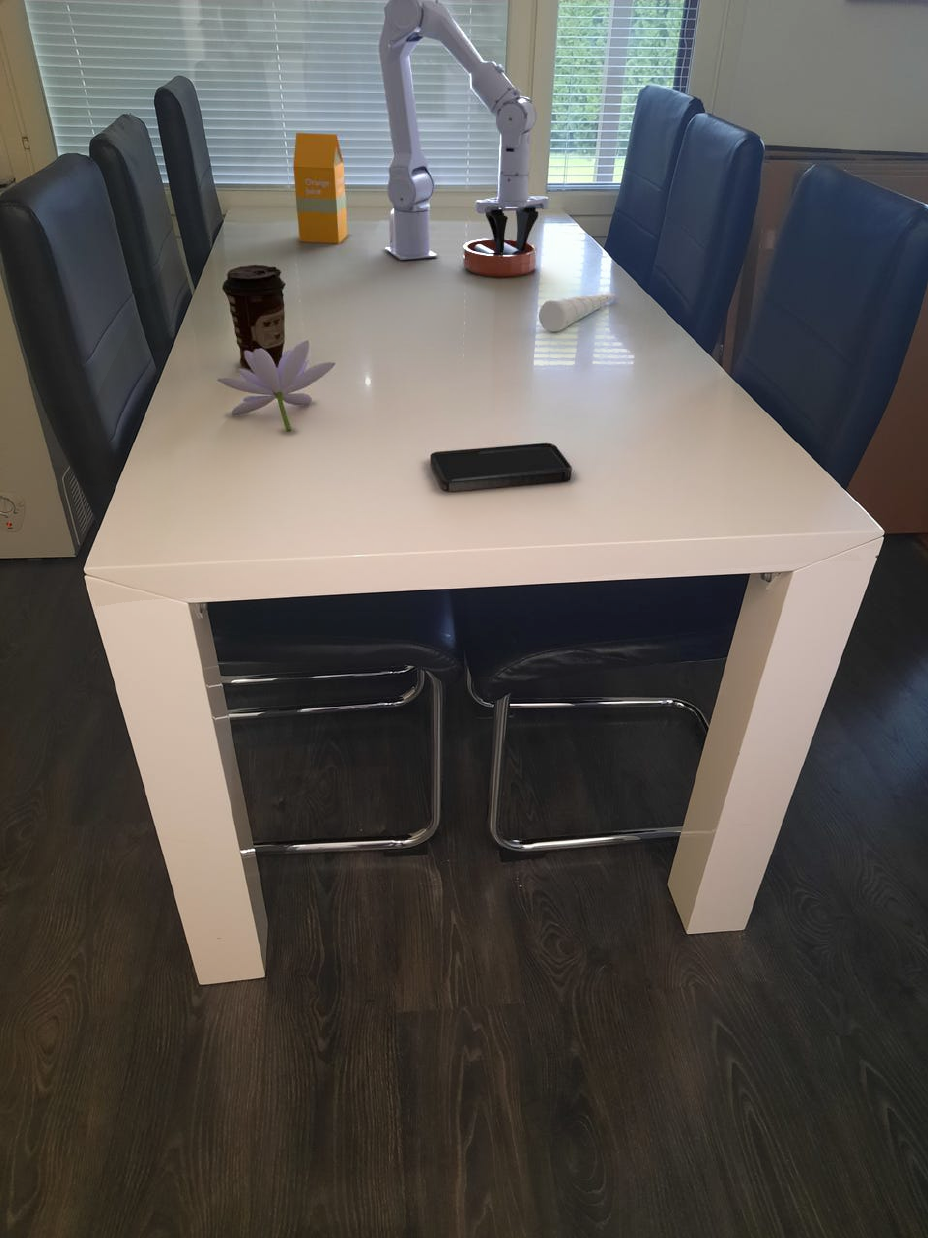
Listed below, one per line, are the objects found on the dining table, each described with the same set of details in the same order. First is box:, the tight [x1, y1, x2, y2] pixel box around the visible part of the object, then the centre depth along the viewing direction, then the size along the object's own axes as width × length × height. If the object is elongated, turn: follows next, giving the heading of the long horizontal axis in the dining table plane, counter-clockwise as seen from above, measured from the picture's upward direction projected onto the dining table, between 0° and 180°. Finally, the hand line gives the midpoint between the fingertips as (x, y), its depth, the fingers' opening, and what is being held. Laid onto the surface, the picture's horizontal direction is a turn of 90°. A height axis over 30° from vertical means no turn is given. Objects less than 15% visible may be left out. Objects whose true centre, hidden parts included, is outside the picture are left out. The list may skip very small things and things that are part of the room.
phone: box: [429, 442, 573, 492], centre depth 97 cm, size 8×1×15 cm
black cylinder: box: [472, 244, 500, 255], centre depth 167 cm, size 7×3×3 cm, turn 24°
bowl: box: [462, 238, 538, 278], centre depth 168 cm, size 14×14×4 cm
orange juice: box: [292, 132, 348, 244], centre depth 181 cm, size 8×9×20 cm
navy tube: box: [495, 243, 524, 255], centre depth 168 cm, size 7×3×3 cm
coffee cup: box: [221, 264, 287, 372], centre depth 119 cm, size 9×8×13 cm
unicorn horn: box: [538, 293, 616, 333], centre depth 144 cm, size 5×24×5 cm, turn 142°
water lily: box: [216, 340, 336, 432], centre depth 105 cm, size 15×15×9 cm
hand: (510, 250), depth 168 cm, fingers open, 4 cm apart
